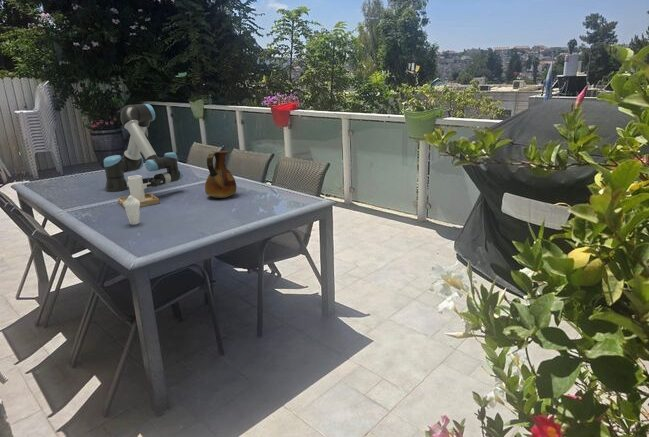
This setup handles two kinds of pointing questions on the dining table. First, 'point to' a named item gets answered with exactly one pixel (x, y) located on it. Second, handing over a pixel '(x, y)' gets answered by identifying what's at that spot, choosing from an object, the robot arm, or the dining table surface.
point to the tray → (149, 201)
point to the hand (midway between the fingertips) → (134, 185)
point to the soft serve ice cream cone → (132, 209)
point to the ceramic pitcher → (219, 177)
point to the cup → (136, 187)
